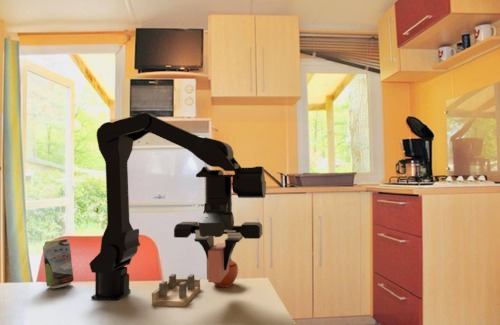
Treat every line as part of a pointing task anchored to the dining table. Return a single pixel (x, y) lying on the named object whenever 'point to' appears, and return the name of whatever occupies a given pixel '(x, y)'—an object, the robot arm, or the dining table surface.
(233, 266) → the tomato
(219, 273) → the pink rectangular block
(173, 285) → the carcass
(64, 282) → the printed carton
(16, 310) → the dining table surface
